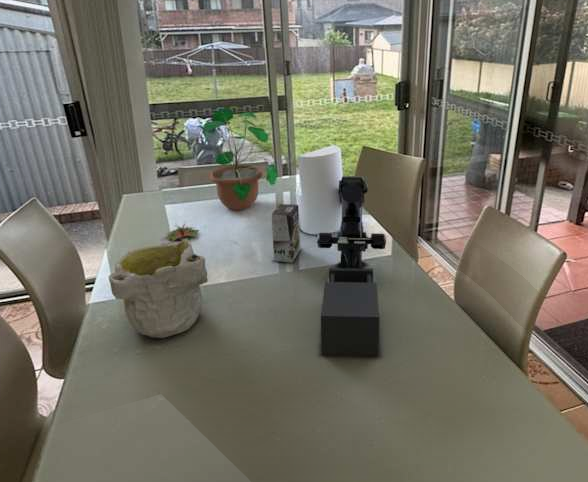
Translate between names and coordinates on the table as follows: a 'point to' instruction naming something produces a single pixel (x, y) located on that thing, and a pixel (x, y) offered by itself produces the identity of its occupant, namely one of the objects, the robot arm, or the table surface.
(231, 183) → the potted plant
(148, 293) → the ceramic vessel
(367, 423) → the table surface
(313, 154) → the cylinder
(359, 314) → the dark grey rectangular box
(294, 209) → the coffee box
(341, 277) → the dark grey boxy piece
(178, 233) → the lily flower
